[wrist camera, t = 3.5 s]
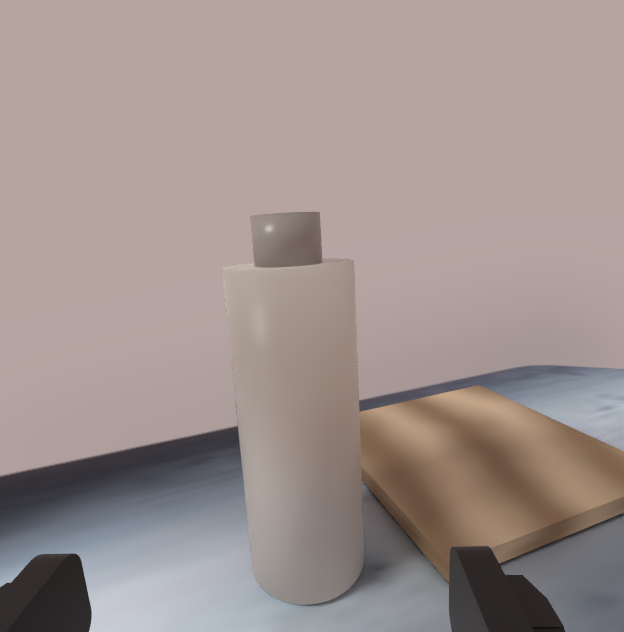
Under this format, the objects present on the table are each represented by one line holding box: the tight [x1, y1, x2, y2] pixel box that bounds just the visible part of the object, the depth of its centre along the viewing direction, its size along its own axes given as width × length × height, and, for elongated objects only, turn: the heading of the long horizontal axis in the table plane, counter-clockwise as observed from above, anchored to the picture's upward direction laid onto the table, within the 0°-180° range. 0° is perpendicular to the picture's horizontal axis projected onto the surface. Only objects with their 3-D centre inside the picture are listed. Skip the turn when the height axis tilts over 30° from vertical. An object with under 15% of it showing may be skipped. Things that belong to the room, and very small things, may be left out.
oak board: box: [359, 385, 624, 583], centre depth 27 cm, size 15×15×1 cm
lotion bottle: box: [222, 212, 364, 605], centre depth 18 cm, size 5×5×16 cm
